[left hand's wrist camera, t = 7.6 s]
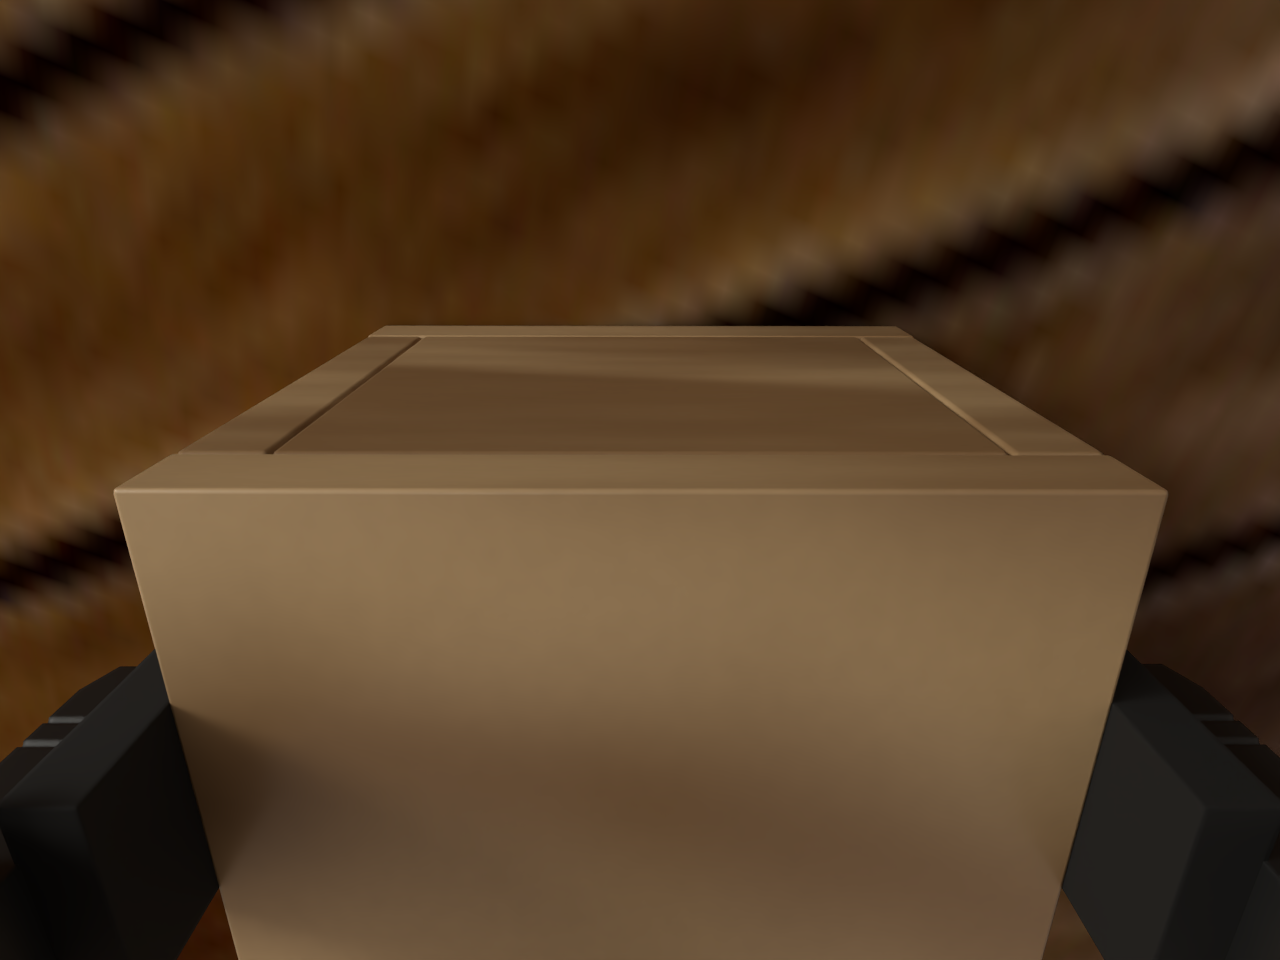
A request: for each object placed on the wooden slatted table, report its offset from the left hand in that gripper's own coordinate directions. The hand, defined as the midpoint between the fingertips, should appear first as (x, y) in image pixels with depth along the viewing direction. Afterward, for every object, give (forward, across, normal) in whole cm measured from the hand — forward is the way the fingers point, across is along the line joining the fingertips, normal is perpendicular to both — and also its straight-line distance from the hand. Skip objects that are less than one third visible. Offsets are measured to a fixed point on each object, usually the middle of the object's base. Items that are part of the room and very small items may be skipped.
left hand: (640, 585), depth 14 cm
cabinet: (+4, 0, -7) cm, 8 cm away
